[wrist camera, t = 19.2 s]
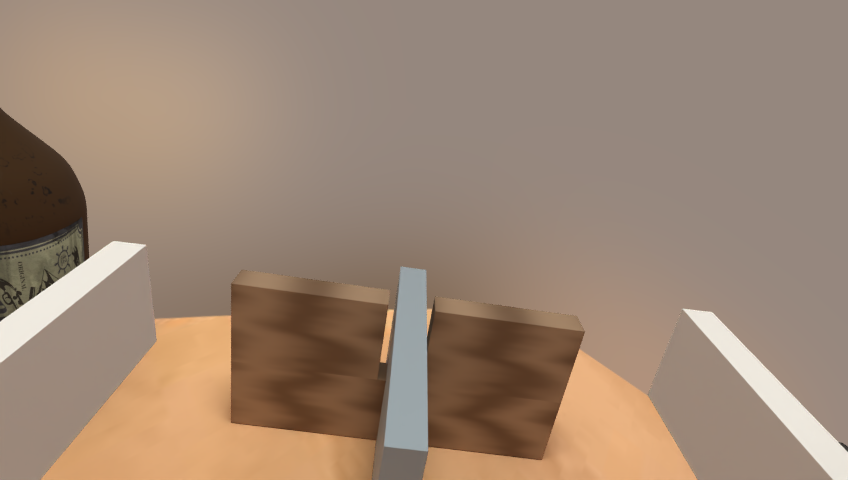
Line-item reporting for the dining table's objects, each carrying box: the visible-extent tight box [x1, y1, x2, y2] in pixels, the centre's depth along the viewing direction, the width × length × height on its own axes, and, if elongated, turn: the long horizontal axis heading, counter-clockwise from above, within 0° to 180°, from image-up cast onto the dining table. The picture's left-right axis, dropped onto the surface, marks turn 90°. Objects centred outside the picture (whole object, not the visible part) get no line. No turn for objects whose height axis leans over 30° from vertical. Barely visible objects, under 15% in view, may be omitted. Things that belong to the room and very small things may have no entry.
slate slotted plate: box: [372, 267, 428, 480], centre depth 33 cm, size 18×2×12 cm, turn 0°
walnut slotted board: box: [231, 270, 585, 460], centre depth 37 cm, size 24×2×12 cm, turn 90°
